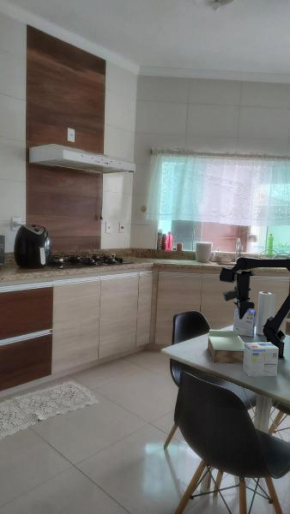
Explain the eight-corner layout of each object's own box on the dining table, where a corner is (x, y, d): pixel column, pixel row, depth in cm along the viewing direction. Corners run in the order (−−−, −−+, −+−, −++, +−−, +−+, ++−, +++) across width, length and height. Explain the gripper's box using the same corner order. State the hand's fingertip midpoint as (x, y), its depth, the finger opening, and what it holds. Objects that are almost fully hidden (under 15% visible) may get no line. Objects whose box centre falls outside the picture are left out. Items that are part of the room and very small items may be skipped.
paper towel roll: (253, 332, 175) (256, 291, 173) (262, 331, 178) (265, 290, 175) (263, 337, 169) (267, 294, 166) (272, 336, 171) (276, 293, 169)
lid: (238, 337, 151) (238, 331, 150) (249, 351, 134) (249, 344, 134) (207, 335, 151) (207, 329, 151) (214, 349, 134) (214, 342, 134)
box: (237, 349, 151) (238, 338, 150) (247, 364, 135) (248, 352, 134) (207, 347, 151) (208, 336, 150) (214, 362, 135) (215, 350, 134)
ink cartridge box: (254, 334, 173) (256, 306, 171) (252, 337, 168) (255, 308, 166) (234, 330, 177) (236, 303, 175) (232, 333, 172) (234, 305, 170)
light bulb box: (268, 368, 132) (270, 341, 131) (277, 376, 125) (279, 348, 124) (241, 369, 130) (243, 341, 129) (249, 377, 124) (251, 348, 122)
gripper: (220, 280, 161) (218, 312, 163) (229, 288, 142) (226, 324, 144) (244, 281, 161) (241, 313, 162) (256, 289, 142) (253, 325, 144)
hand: (240, 319), depth 153 cm, fingers closed
